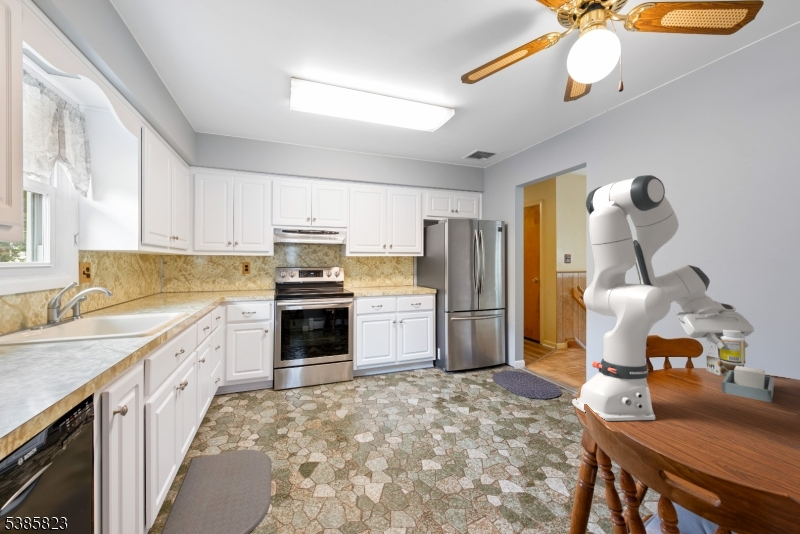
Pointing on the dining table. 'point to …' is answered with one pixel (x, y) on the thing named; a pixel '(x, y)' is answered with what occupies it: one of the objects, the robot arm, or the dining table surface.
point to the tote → (748, 388)
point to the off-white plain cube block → (749, 377)
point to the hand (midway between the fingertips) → (734, 347)
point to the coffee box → (717, 360)
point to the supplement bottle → (733, 348)
